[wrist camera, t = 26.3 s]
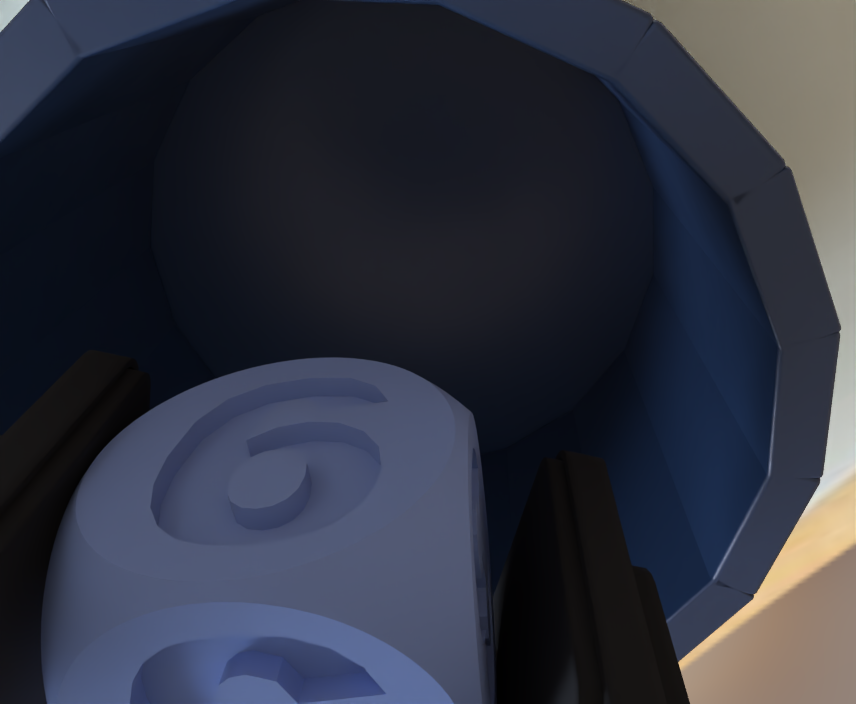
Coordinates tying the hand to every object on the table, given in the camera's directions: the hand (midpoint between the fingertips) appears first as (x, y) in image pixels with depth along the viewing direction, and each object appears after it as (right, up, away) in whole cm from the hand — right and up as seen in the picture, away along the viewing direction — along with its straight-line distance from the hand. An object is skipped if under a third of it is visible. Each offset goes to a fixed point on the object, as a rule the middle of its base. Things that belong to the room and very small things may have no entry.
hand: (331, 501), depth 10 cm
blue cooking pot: (+1, +4, +9) cm, 10 cm away
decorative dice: (0, 0, +1) cm, 1 cm away
